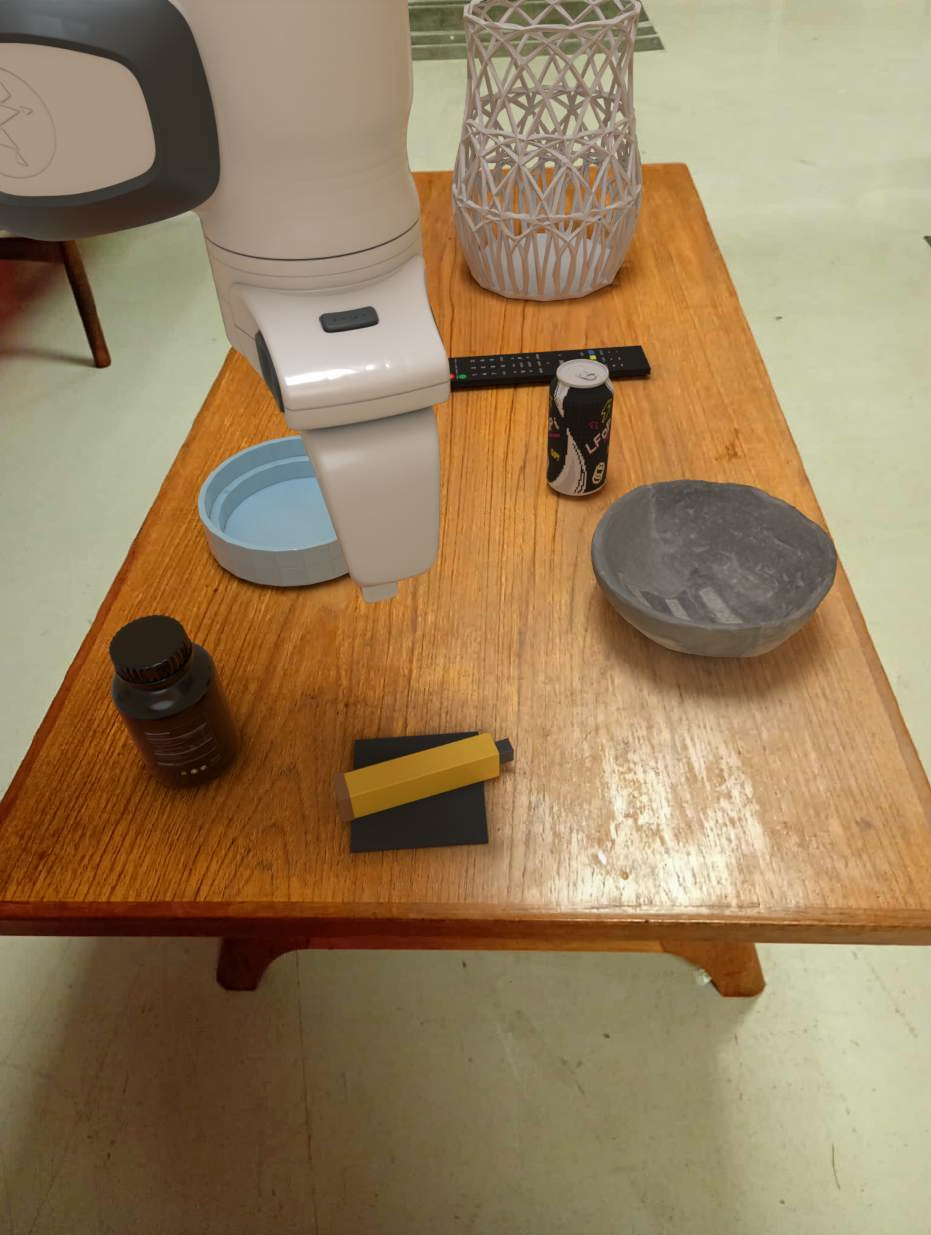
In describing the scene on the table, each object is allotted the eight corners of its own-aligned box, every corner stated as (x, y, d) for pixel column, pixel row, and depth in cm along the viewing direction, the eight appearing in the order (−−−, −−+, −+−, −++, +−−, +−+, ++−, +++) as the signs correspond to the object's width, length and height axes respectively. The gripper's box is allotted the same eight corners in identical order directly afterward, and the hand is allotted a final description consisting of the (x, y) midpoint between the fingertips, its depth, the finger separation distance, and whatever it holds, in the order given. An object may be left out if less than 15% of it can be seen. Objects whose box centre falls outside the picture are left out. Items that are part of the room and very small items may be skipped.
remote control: (649, 379, 99) (650, 368, 98) (434, 393, 98) (434, 382, 98) (639, 356, 103) (641, 345, 102) (433, 369, 102) (432, 358, 101)
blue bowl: (196, 597, 76) (182, 557, 73) (223, 479, 88) (212, 440, 85) (396, 583, 76) (391, 543, 73) (395, 467, 89) (391, 429, 86)
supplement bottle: (142, 733, 66) (87, 618, 57) (234, 705, 67) (194, 590, 59) (153, 806, 61) (95, 693, 53) (251, 775, 63) (210, 660, 54)
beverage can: (580, 509, 83) (588, 395, 74) (533, 485, 86) (536, 373, 77) (617, 481, 86) (629, 369, 77) (571, 459, 89) (577, 348, 80)
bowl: (548, 581, 76) (551, 507, 70) (720, 524, 81) (736, 449, 75) (664, 732, 64) (678, 656, 58) (858, 654, 69) (889, 577, 63)
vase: (632, 233, 128) (656, -20, 107) (637, 310, 111) (666, 27, 90) (465, 232, 130) (456, -15, 109) (445, 308, 113) (429, 31, 92)
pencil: (343, 823, 59) (337, 800, 57) (336, 797, 61) (331, 774, 59) (516, 771, 62) (516, 748, 60) (506, 748, 63) (505, 725, 61)
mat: (351, 853, 58) (350, 850, 58) (355, 743, 64) (354, 739, 64) (488, 843, 58) (488, 839, 58) (478, 734, 65) (478, 730, 64)
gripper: (217, 210, 44) (266, 444, 54) (291, 419, 31) (339, 683, 40) (340, 193, 46) (367, 424, 55) (465, 386, 32) (471, 649, 42)
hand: (356, 535), depth 48 cm, fingers open, 8 cm apart
